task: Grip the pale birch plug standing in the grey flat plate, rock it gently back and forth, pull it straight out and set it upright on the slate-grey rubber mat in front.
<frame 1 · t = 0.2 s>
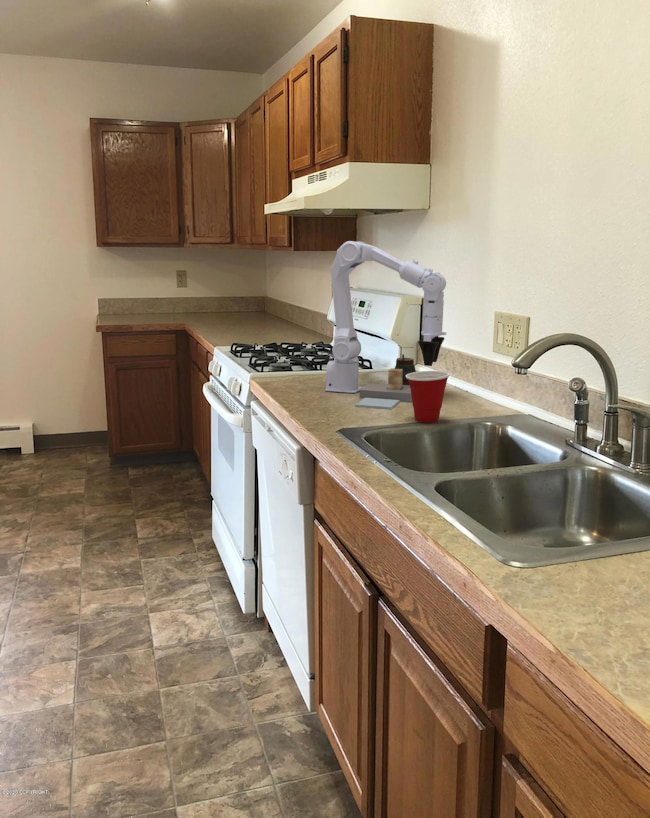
hand: (430, 363, 205), 10 cm above the worktop, fingers open, 7 cm apart
plastic cup: (425, 421, 179), on the worktop
plug: (395, 383, 207), in the grey flat plate
mate gourd: (404, 384, 229), on the worktop
grey flat plate: (394, 396, 207), on the worktop
mat: (377, 404, 197), on the worktop
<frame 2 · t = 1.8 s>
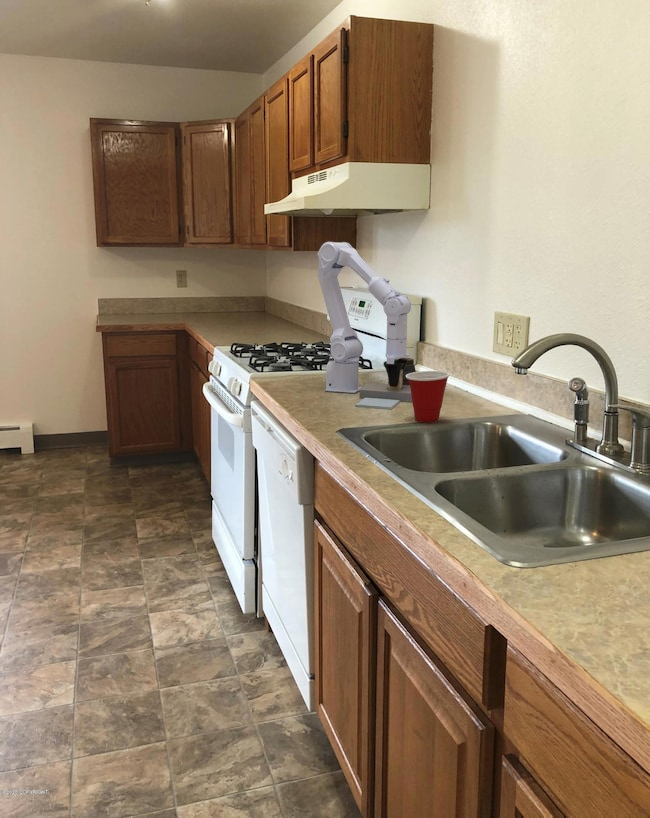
hand: (395, 385, 207), 3 cm above the worktop, fingers closed on plug, 3 cm apart
plug: (395, 383, 207), in the grey flat plate, touching gripper
everything else where it was.
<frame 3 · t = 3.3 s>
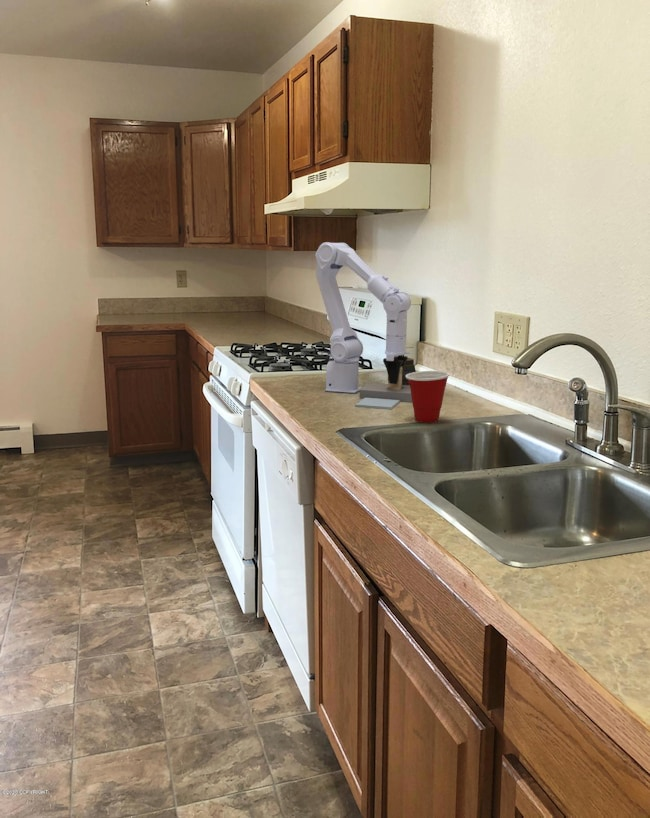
hand: (394, 382, 207), 4 cm above the worktop, fingers closed on plug, 3 cm apart
plug: (394, 380, 206), in the grey flat plate, point 5 cm above the worktop, touching gripper
everything else where it was.
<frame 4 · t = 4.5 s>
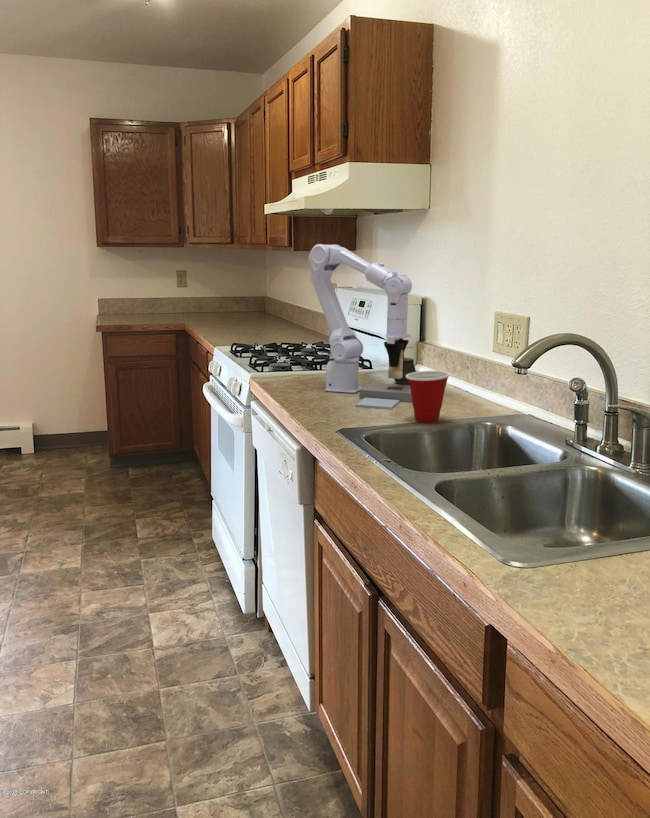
hand: (395, 365, 206), 9 cm above the worktop, fingers closed on plug, 3 cm apart
plug: (395, 363, 205), point 10 cm above the worktop, touching gripper
everything else where it was.
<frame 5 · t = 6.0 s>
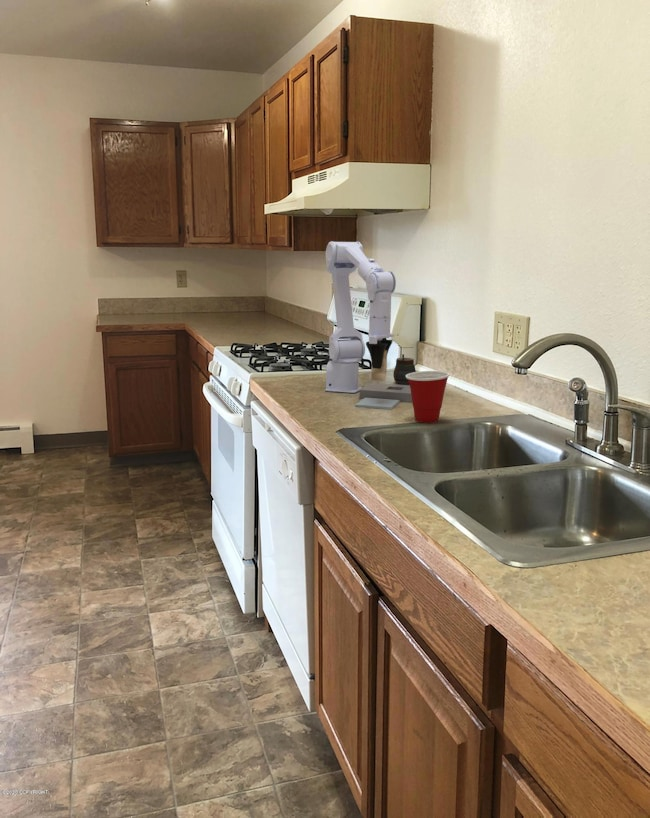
hand: (378, 367, 195), 10 cm above the worktop, fingers closed on plug, 3 cm apart
plug: (379, 365, 195), point 11 cm above the worktop, touching gripper
everything else where it was.
when the fingers open (5 cm above the worktop, at t = 7.3 s): plug drops 1 cm, resting on mat.
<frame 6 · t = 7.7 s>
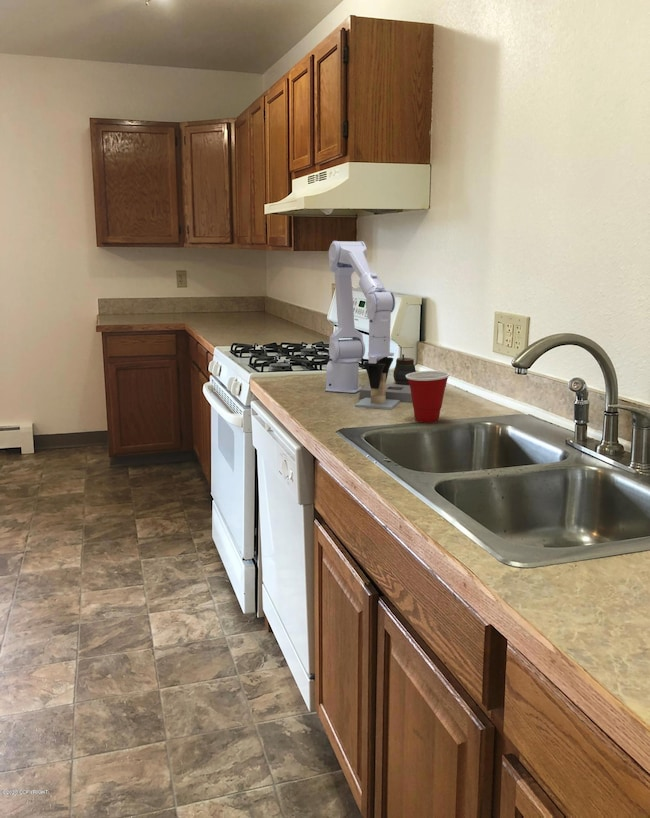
hand: (378, 385, 196), 5 cm above the worktop, fingers open, 7 cm apart
plug: (378, 388, 196), on the mat, point 5 cm above the worktop
everything else where it was.
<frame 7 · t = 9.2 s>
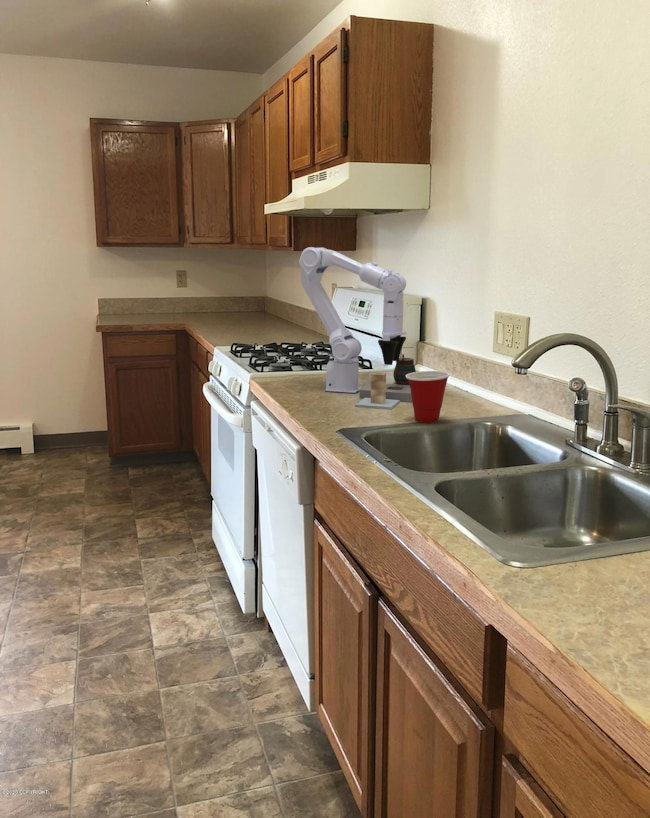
hand: (391, 362, 209), 9 cm above the worktop, fingers open, 7 cm apart
nothing on the worktop moved.
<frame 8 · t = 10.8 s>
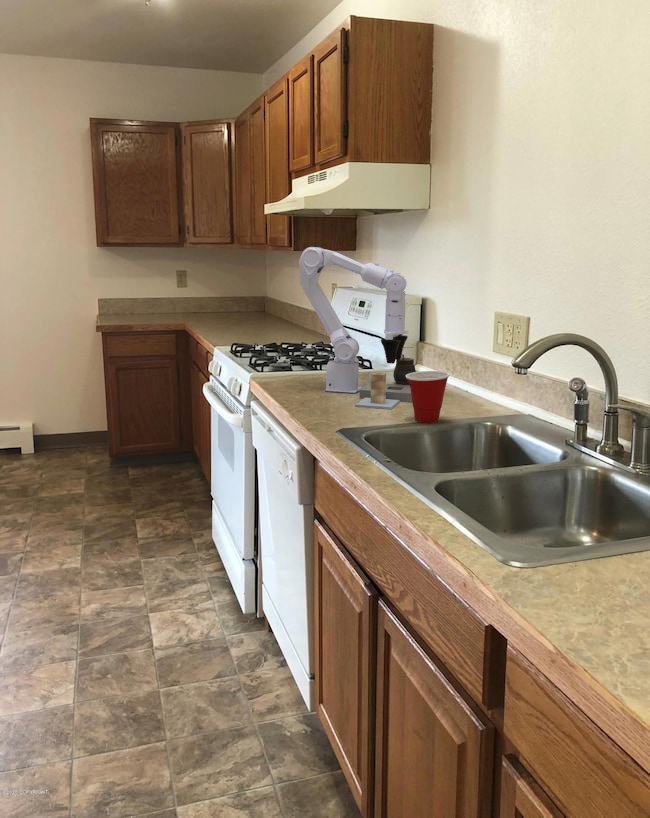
hand: (393, 361, 212), 9 cm above the worktop, fingers open, 7 cm apart
nothing on the worktop moved.
at the end: plug inside the target area on the mat (0.1 cm from its centre), point 4.6 cm above the mat's base; plug tilted 0°; the gripper is holding nothing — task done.
